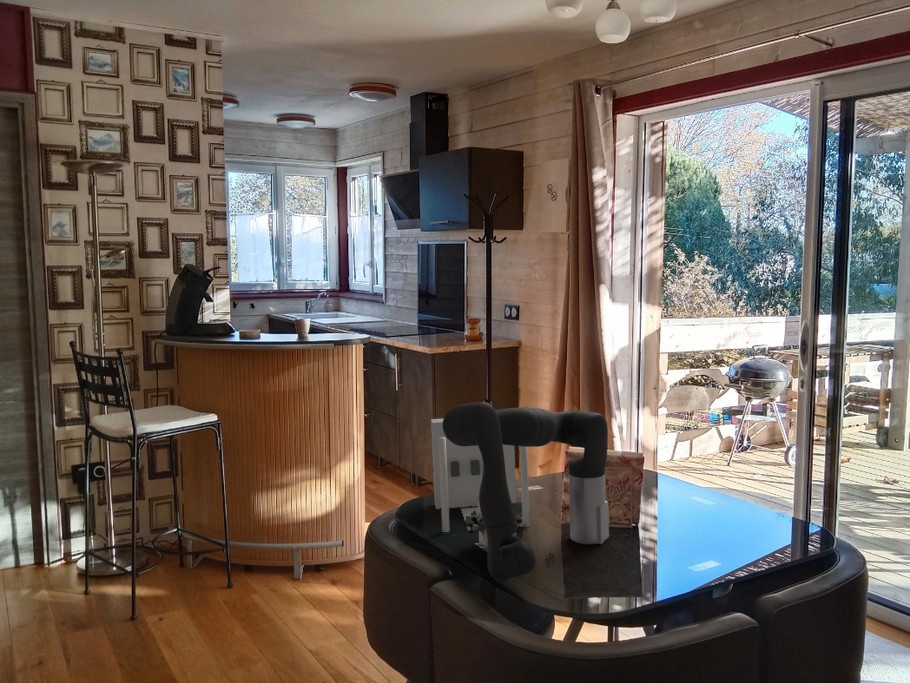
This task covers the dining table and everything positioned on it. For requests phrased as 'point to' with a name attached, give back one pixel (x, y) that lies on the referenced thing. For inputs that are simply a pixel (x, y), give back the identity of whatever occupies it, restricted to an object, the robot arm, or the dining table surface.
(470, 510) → the pad
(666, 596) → the dining table surface
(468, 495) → the breaker panel
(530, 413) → the robot arm
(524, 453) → the cord posts
